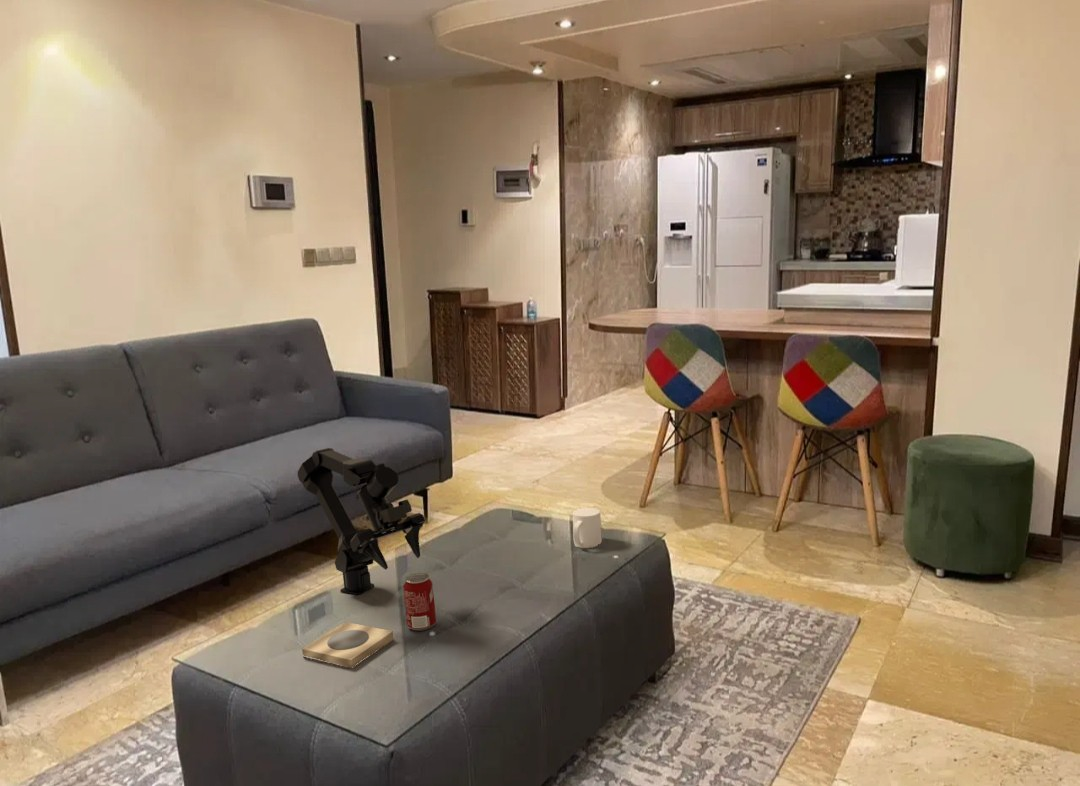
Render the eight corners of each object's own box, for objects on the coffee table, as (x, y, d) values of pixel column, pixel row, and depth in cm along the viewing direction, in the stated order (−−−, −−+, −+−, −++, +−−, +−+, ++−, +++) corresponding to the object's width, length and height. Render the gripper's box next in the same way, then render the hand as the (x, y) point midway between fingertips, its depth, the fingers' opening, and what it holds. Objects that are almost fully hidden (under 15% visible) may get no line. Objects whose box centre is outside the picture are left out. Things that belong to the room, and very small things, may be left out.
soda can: (430, 633, 184) (426, 583, 182) (403, 632, 185) (398, 583, 183) (440, 619, 191) (435, 571, 189) (413, 619, 192) (408, 571, 190)
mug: (581, 505, 240) (605, 508, 236) (583, 535, 241) (607, 538, 237) (562, 518, 229) (587, 521, 225) (564, 549, 231) (589, 552, 227)
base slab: (303, 657, 177) (302, 648, 176) (346, 629, 189) (345, 621, 188) (352, 668, 170) (350, 659, 170) (393, 639, 182) (392, 630, 182)
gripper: (354, 501, 186) (381, 561, 181) (421, 482, 199) (448, 537, 194) (338, 522, 194) (364, 580, 189) (403, 502, 206) (429, 556, 201)
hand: (403, 562), depth 193 cm, fingers open, 9 cm apart
